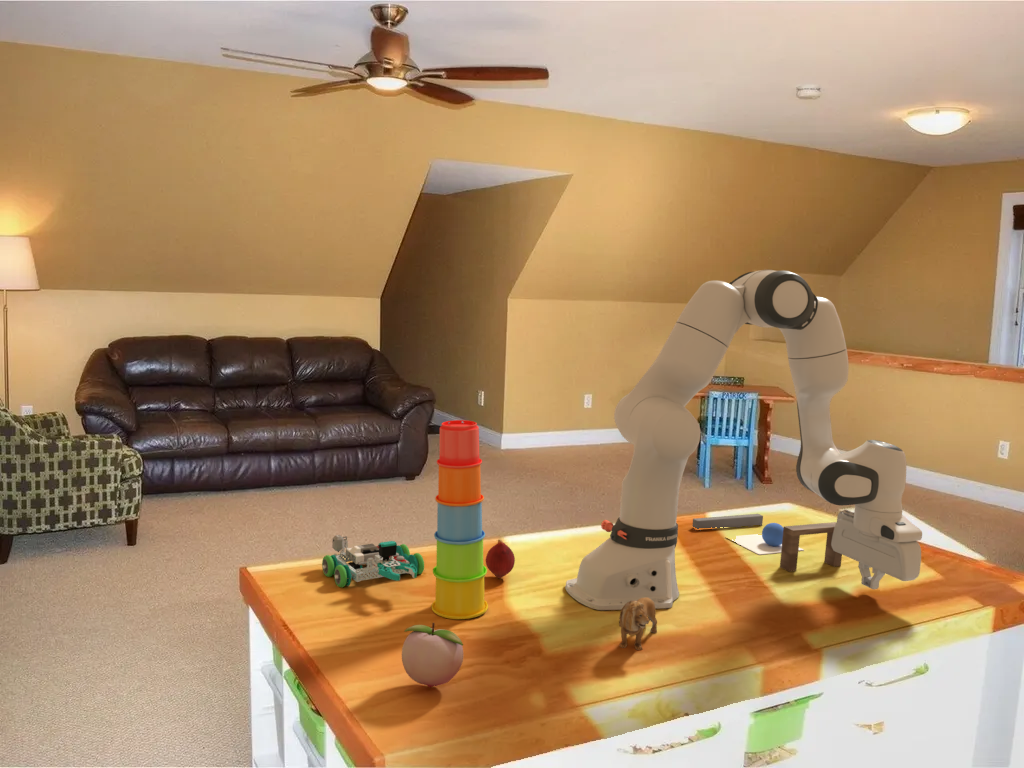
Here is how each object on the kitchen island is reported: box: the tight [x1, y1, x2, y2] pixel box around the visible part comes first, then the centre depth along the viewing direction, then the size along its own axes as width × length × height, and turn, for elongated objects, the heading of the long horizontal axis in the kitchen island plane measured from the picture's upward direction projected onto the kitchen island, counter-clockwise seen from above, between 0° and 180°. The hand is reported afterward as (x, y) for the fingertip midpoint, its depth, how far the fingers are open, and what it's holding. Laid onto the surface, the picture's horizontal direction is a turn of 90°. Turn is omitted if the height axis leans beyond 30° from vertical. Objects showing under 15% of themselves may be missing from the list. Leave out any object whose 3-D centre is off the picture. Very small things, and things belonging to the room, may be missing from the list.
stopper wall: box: [691, 513, 764, 529], centre depth 219 cm, size 20×2×2 cm, turn 113°
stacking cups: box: [431, 419, 489, 620], centre depth 156 cm, size 10×10×35 cm
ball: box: [761, 522, 784, 546], centre depth 205 cm, size 6×6×6 cm
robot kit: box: [321, 534, 425, 588], centre depth 169 cm, size 19×25×9 cm
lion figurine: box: [618, 597, 658, 651], centre depth 148 cm, size 15×5×9 cm, turn 161°
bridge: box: [779, 521, 843, 572], centre depth 191 cm, size 3×14×9 cm, turn 113°
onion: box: [485, 538, 516, 579], centre depth 174 cm, size 6×6×8 cm
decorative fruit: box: [401, 622, 464, 688], centre depth 127 cm, size 9×8×10 cm
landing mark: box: [731, 533, 805, 556], centre depth 206 cm, size 13×13×1 cm
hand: (869, 586), depth 176 cm, fingers closed
